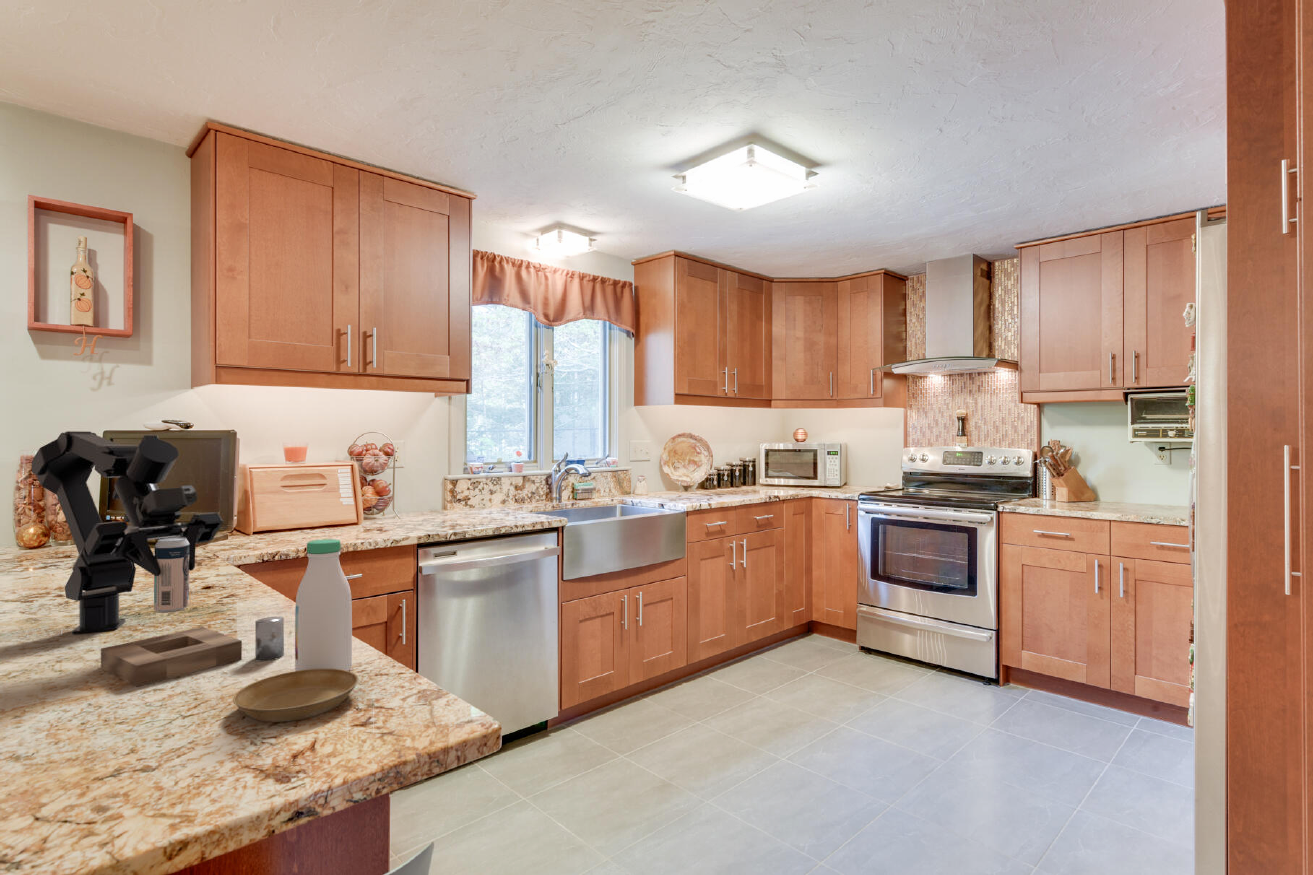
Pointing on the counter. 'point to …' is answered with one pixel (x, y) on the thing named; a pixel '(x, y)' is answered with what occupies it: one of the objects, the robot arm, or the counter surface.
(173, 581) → the beer can
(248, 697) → the plant saucer
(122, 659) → the walnut collar
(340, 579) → the milk bottle
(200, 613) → the counter surface
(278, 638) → the short steel pin
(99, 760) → the counter surface
